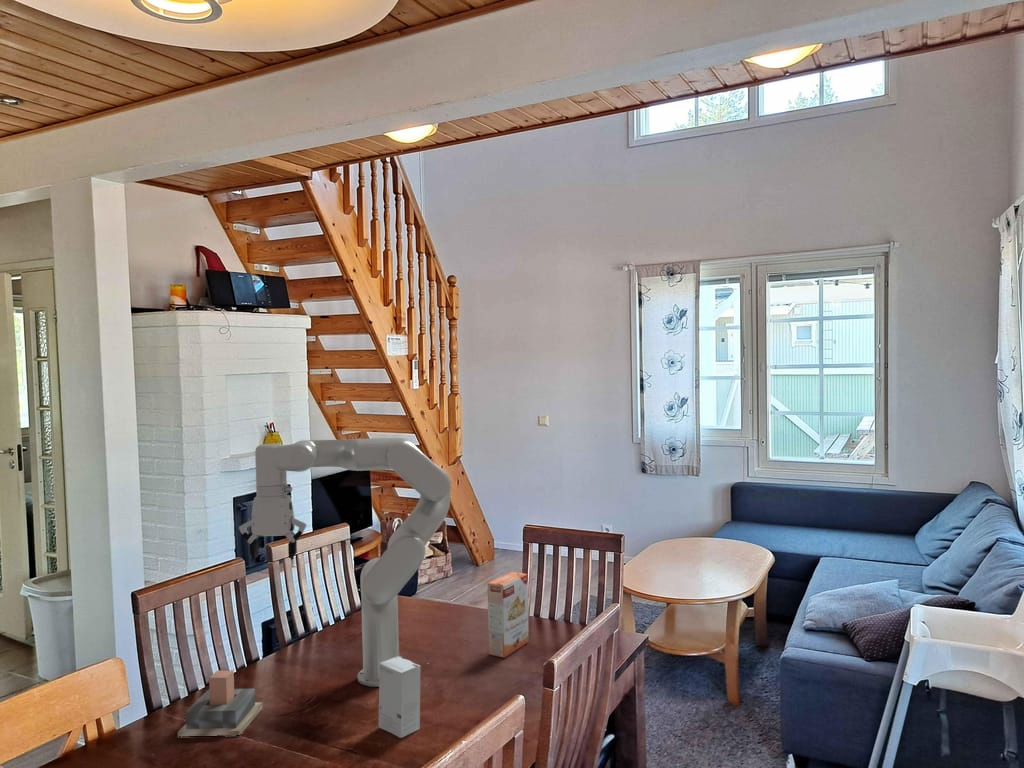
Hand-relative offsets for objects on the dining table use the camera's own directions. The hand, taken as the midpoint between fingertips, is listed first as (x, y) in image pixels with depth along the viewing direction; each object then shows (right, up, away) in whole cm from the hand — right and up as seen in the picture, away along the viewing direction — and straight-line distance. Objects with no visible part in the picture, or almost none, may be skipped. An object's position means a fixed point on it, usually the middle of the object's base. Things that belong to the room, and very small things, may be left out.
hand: (273, 557), depth 180 cm
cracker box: (+61, -33, +23) cm, 73 cm away
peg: (-6, -33, -17) cm, 38 cm away
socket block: (-6, -35, -17) cm, 39 cm away
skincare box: (+37, -34, -23) cm, 54 cm away
